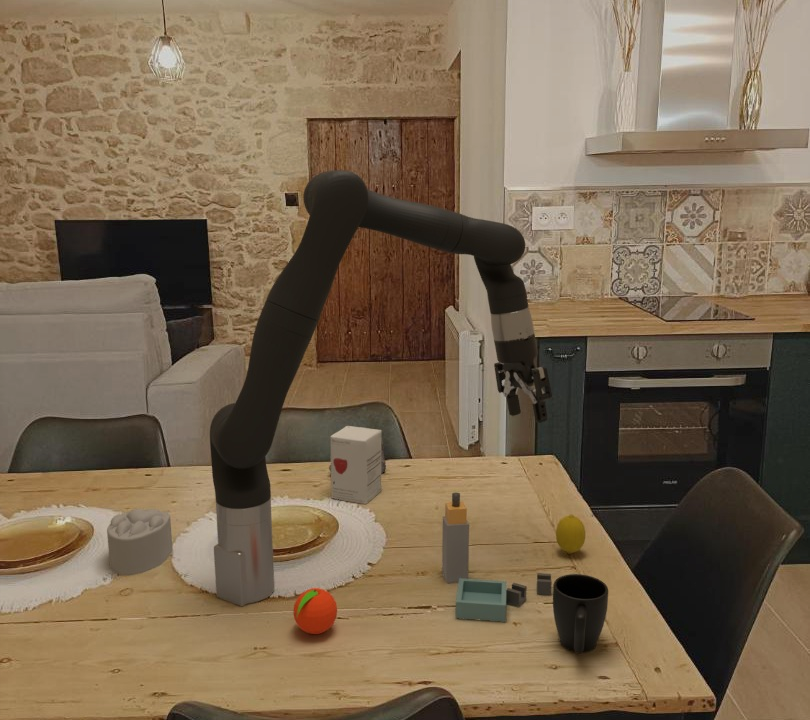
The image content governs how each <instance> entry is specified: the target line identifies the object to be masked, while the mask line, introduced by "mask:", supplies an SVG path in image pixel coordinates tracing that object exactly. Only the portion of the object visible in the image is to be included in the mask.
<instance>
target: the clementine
mask: <svg viewBox="0 0 810 720" xmlns="http://www.w3.org/2000/svg"><path fill="white" fill-rule="evenodd" d="M337 616H338V606H337V602H336V600H335V598H334V597H333V595H332V594H331V593H330V592H329V591H327V590H324V589H323V588H319V587H314V588H313V587H312V588H309V589H306V590H305V591H304V592H302V593H301V594H300V595H299V596H298V597H297V598H296V600H295V602H294V604H293V619H294V621H295V623H296V625H297V627H299V628H300V629H301V630H302V631H303V632H305V633H307V634H311V635H319V634H322V633H324V632H326V631H328V630H330V628H331V627H332V626H333V625H334V623H335V621H336V619H337Z"/></svg>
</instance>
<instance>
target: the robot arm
mask: <svg viewBox="0 0 810 720" xmlns="http://www.w3.org/2000/svg"><path fill="white" fill-rule="evenodd" d="M302 198H303V204H304V208H305V210H306V213H308V215H309V217H308V221H307V224H306V227H305V228H304V229H305V230H304V233H303V235H302V238H301V240H300V242H299V245H298V247H297V248H296V249H295V252H294V254H293V255H292V257H291V258H290V260H289V261H288V262H287V264H286V265H285V266H284V268H283V269H282V270H281V273H279V275H278V276H277V277H276V280H275V281H274V283H273V285H272V287H271V288H270V290H269V292H268V295H267V297H266V299H265V302H264V305H263V307H262V309H261V311H260V315H259V316H258V319H257V323H256V325H255V329H254V333H253V336H252V342H251V346H250V354H249V359H248V366H247V372H246V376H245V379H244V383H243V386H242V387H241V390H240V392H239V394H238V396H237V398H236V401H235V402H233V403H229V404H227V405H225V406H223V407H222V408H220V409H219V410H217V412H216V413H215V414H214V416H213V418H212V420H211V422H210V427H209V445H210V446H209V447H210V460H211V461H210V462H211V471H212V472H211V473H212V482H213V487H214V496H215V497H214V498H215V510H216V511H215V513H216V528H217V529H216V530H217V531H216V532H217V544H215V545H214V547H213V554H214V555H213V556H214V557H213V559H214V575H215V578H214V579H215V591H216V592H215V593H216V597H217V598H218V599H220V600H224V601H227V602H229V603H232V604H235V605H237V606H239V607H244V606H246V605H248V604H253V603H257V602H259V601H262V600H265V599H267V598H269V597H270V596H271V595H272V594H273V593H272V592H274V591H275V569H274V546H273V543H274V542H273V523H272V522H273V520H272V519H273V518H272V517H273V516H272V499H271V498H272V497H271V496H272V494H271V492H272V491H271V489H272V488H271V481H270V480H271V479H270V478H269V472H268V468H267V461H266V456H267V455H268V453H269V452H270V450H271V448H272V445H273V441H274V439H275V434H276V431H277V427H278V424H279V421H280V417H281V413H282V410H283V407H284V404H285V401H286V397H287V395H288V393H289V390H290V389H291V385H292V383H293V381H294V379H295V377H296V375H297V373H298V371H299V367H300V365H301V363H302V360H303V359H304V355H305V354H306V351H307V349H308V347H309V345H310V342H311V340H312V338H313V336H314V333H315V331H316V328H317V326H318V324H319V320H320V318H321V315H322V312H323V310H324V307H325V305H326V302H327V299H328V297H329V294H330V292H331V289H332V287H333V283H334V280H335V277H336V275H337V271H338V269H339V266H340V264H341V262H342V260H343V257H344V255H345V253H346V251H347V250H348V247H349V246H350V243H351V242H352V240H353V239H354V236H355V234H356V233H357V230H358V228H361V229H366V230H371V231H376V232H379V233H383V234H387V235H391V236H394V237H395V238H396V237H397V238H400V239H404V240H406V241H408V242H409V241H410V242H412V243H415V244H419V245H421V246H424V247H428V248H432V249H434V250H438V251H441V252H446V253H450V254H455V255H469V256H473V259H474V263H475V265H476V269H477V271H478V273H479V276H480V279H481V281H482V283H483V285H484V288H485V290H486V293H487V300H488V307H489V312H490V324H491V331H492V337H493V342H494V343H493V344H494V348H495V353H496V354H495V355H496V360H497V361H498V362H495V363H494V365H493V367H494V373H495V380H496V387H497V392H498V393H499V394H503V396H504V397H505V398H506V402H507V403H506V404H507V409H508V414H509V415H510V416H512V417H514V416H518V415H519V414H521V406H520V398H519V395H518V391H519V389H521V390H522V391H523V392H524V394H525V395H528V396H529V398H530V401H532V407H533V408H532V409H533V416H534V421H535V422H536V423H539V424H540V423H543V422H546V421H547V420H548V413H547V408H546V406H547V405H546V401H547V400H549V399H550V400H551V399H552V398H553V393H552V388H551V384H550V380H549V379H550V378H549V373H548V368H547V367H546V366H545V365H543V366H540V367H537V366H536V364H535V362H534V361H535V358H536V357H537V356H538V354H539V353H538V345H537V339H536V333H535V328H534V327H535V326H534V323H533V317H532V314H531V311H530V308H529V302H528V301H529V300H528V296H527V295H528V294H527V290H526V285H525V282H524V280H523V279H522V278H521V277H519V276H517V275H516V274H515V273H514V272H515V271H514V270H513V268H512V264H515V263H517V262H518V261H519V260H520V259H522V257H523V255H524V253H525V251H526V241H525V238H524V236H523V234H522V232H521V231H519V230H518V228H516V227H514V226H512V225H509V224H507V223H502V222H498V221H494V220H493V221H492V220H487V219H481V218H475V217H470V216H468V215H465V214H463V213H459V212H456V211H452V210H448V209H446V208H442V207H437V206H434V205H430V204H425V203H421V202H414V201H410V200H405V199H402V198H401V199H400V198H396V197H392V196H388V195H384V194H382V193H378V192H375V191H373V190H370V189H368V188H367V186H366V182H364V180H363V179H362V178H361V176H359V175H358V174H357V173H355V172H353V171H349V170H343V169H339V170H338V169H337V170H334V169H333V170H326V171H321V172H320V173H318V174H315V176H313V177H312V178H310V180H309V181H308V182H307V184H306V186H305V187H304V191H303V195H302ZM503 381H504V382H503ZM543 388H544V390H543ZM535 393H536V394H535Z"/></svg>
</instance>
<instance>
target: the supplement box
mask: <svg viewBox="0 0 810 720" xmlns="http://www.w3.org/2000/svg"><path fill="white" fill-rule="evenodd" d="M382 431H383V430H382V429H376V428H375V429H374V428H368V427H363V426H362V427H360V426H353V425H352V426H351V425H346V426H344V427H343V428H342V429H340V430H338V431H336V432H335V433H333V434H332V435H330V457H331V461H330V465H331V472H330V473H331V474H330V487H331V488H330V491H331V492H330V495H331V497H330V498H331V499H332V498H335V499H334V500H338V499H339V501H344V502H350V503H357V504H362V505H367V504H369V502H371V500H373V499H374V498H375V497H377V496H378V494H380V493H381V492H382V473H381V438H382V433H383V432H382Z"/></svg>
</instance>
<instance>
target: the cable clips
mask: <svg viewBox="0 0 810 720" xmlns="http://www.w3.org/2000/svg"><path fill="white" fill-rule="evenodd" d="M527 588H528V587H527V585H523V584H521V583H516V582H513V583H512V584H511V588H510V587H508V588H506V605H510V606H512V607H515V608H516V607H517V608H520V607H521V606H522V605H523V604H524V603H525V602H526V601H527V592H528V591H527ZM536 594H537V595H539V596H542V595H543V596H552V574H551V573H542V572H541V573H540V572H536Z"/></svg>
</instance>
